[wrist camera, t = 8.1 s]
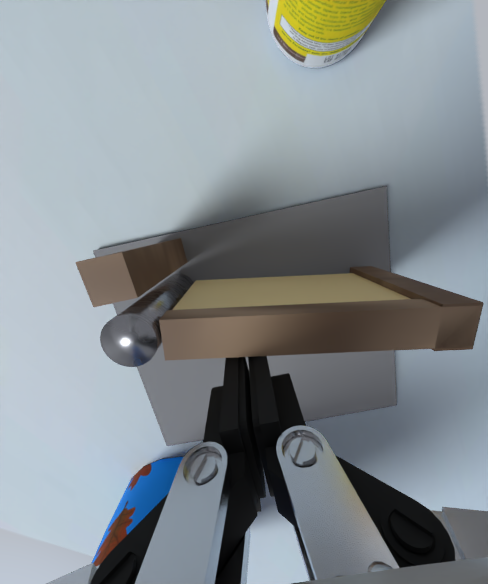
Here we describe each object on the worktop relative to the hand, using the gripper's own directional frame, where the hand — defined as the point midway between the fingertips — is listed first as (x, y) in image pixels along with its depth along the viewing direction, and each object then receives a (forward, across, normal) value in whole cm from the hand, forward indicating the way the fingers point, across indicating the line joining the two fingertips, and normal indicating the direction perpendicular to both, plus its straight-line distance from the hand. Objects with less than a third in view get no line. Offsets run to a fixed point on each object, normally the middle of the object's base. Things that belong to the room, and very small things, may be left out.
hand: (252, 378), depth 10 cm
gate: (+6, -2, -2) cm, 7 cm away
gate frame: (+7, -1, +2) cm, 8 cm away
